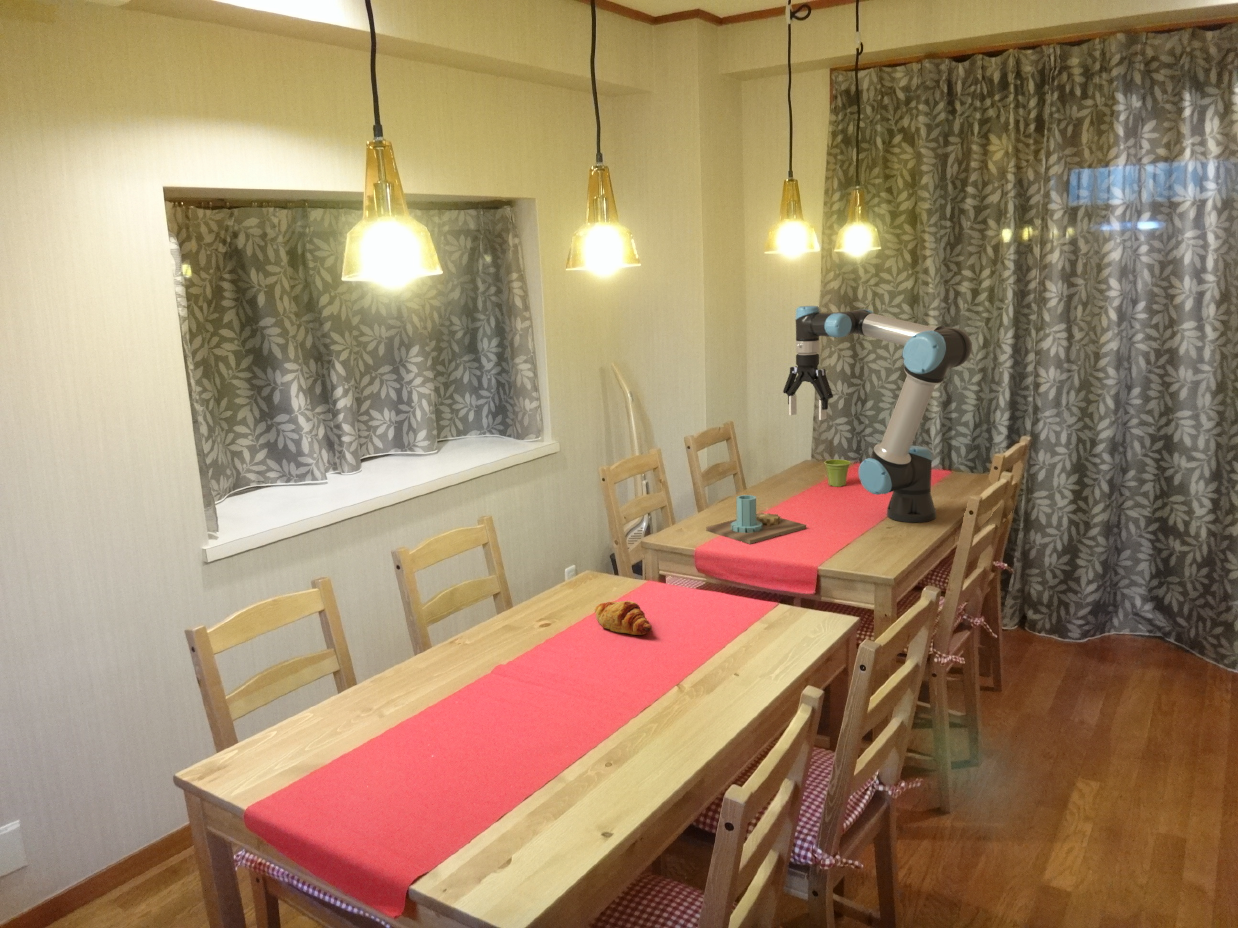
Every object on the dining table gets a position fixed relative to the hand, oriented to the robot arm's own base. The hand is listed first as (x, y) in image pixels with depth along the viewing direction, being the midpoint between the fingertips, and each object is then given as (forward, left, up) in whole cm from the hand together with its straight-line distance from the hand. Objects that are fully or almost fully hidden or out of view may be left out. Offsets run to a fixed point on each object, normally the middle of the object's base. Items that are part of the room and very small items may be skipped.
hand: (807, 417), depth 328 cm
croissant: (-46, +111, -31) cm, 124 cm away
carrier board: (-8, +32, -31) cm, 45 cm away
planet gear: (-8, +36, -29) cm, 47 cm away
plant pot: (+13, -29, -31) cm, 44 cm away
